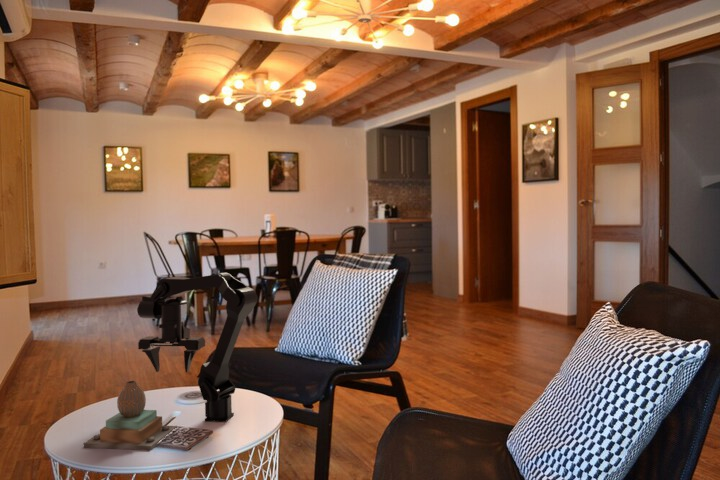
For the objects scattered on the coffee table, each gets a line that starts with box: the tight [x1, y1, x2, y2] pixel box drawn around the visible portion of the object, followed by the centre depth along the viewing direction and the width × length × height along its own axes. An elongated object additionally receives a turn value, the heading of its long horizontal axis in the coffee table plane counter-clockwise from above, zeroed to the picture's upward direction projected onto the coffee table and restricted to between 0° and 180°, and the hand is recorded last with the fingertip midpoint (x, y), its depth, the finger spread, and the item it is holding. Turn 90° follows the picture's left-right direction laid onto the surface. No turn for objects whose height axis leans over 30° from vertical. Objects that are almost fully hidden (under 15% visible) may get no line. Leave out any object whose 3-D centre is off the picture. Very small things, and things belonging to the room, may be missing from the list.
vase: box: [116, 380, 147, 418], centre depth 146 cm, size 7×7×9 cm
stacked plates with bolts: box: [83, 409, 178, 451], centre depth 146 cm, size 18×14×6 cm
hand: (172, 371), depth 167 cm, fingers open, 9 cm apart
